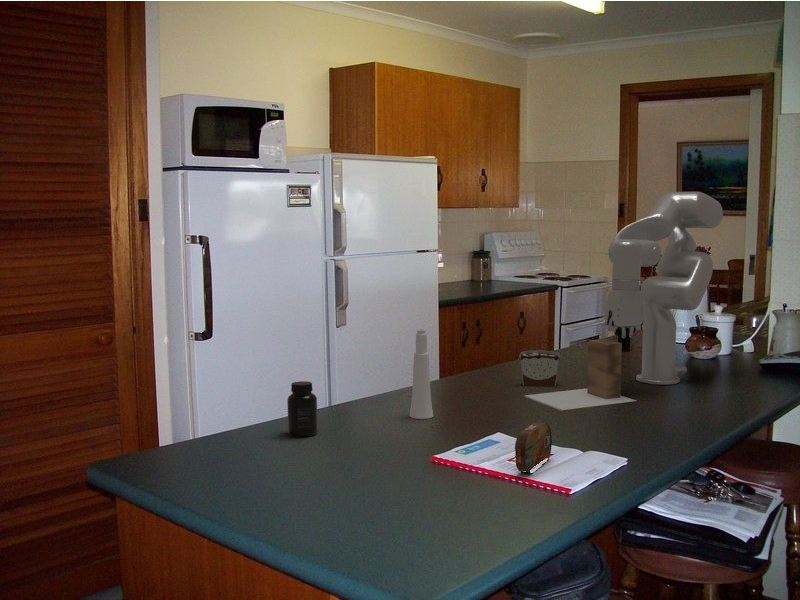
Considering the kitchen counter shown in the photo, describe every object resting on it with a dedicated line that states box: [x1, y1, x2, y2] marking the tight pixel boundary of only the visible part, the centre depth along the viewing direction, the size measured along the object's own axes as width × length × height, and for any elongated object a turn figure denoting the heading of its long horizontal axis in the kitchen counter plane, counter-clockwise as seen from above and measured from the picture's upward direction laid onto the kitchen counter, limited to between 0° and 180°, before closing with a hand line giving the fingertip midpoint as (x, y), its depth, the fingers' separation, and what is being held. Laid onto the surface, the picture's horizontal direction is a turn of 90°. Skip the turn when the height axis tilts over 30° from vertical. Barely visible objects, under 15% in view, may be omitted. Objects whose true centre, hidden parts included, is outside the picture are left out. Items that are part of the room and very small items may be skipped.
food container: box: [518, 350, 562, 387], centre depth 240 cm, size 12×6×10 cm, turn 84°
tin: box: [514, 422, 553, 472], centre depth 164 cm, size 15×3×8 cm, turn 150°
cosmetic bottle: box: [408, 328, 434, 420], centre depth 204 cm, size 6×6×22 cm
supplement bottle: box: [286, 380, 319, 438], centre depth 189 cm, size 7×7×12 cm
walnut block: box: [586, 338, 623, 399], centre depth 225 cm, size 5×8×15 cm, turn 24°
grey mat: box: [524, 388, 637, 412], centre depth 223 cm, size 24×18×1 cm
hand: (623, 351), depth 227 cm, fingers closed
